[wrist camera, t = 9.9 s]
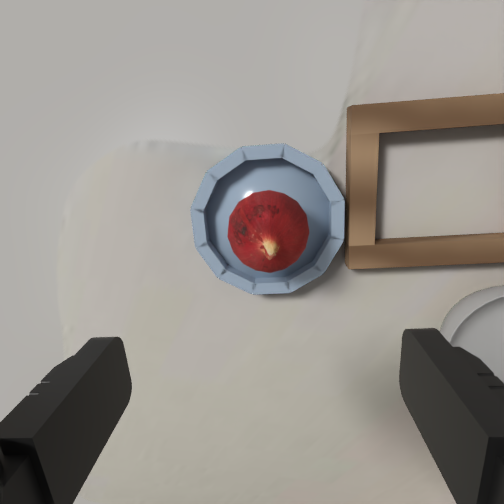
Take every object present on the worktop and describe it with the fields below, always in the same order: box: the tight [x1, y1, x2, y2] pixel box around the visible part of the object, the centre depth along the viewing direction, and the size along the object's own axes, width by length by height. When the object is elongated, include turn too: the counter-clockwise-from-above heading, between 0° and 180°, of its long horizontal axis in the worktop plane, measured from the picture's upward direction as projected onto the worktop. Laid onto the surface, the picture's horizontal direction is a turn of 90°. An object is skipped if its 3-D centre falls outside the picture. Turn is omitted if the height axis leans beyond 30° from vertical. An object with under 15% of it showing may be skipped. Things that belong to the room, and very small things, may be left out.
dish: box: [190, 144, 345, 295], centre depth 27 cm, size 12×12×2 cm
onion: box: [227, 190, 309, 273], centre depth 24 cm, size 6×6×8 cm
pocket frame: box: [345, 93, 504, 269], centre depth 26 cm, size 12×15×2 cm
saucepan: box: [440, 285, 504, 383], centre depth 30 cm, size 11×18×4 cm, turn 176°
